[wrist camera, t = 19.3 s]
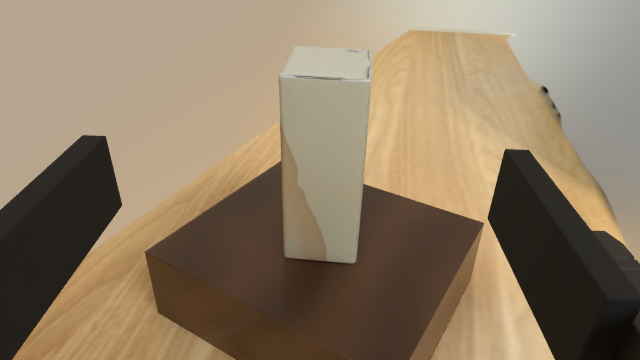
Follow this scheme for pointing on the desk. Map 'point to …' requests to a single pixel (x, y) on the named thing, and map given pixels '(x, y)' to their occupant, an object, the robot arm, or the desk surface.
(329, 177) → the box
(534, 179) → the robot arm
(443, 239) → the block
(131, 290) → the desk surface
